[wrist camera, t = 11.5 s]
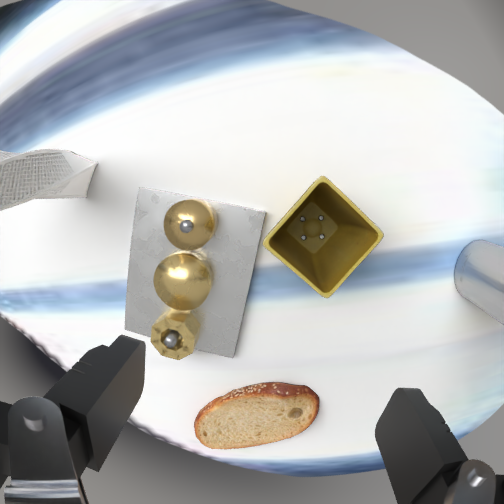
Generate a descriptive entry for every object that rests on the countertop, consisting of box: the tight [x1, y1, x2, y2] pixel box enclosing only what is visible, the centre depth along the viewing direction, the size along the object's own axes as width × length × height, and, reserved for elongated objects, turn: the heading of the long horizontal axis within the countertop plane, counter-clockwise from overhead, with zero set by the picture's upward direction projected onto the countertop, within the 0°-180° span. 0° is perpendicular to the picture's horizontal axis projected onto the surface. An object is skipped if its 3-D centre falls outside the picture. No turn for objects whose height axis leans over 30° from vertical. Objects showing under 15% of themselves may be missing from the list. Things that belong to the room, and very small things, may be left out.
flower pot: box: [263, 176, 384, 298], centre depth 33 cm, size 9×9×9 cm
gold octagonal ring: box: [151, 308, 201, 360], centre depth 38 cm, size 6×6×4 cm
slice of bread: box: [194, 382, 319, 449], centre depth 43 cm, size 18×18×4 cm
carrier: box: [125, 187, 265, 358], centre depth 37 cm, size 16×20×6 cm
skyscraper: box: [0, 149, 98, 211], centre depth 24 cm, size 8×8×28 cm
